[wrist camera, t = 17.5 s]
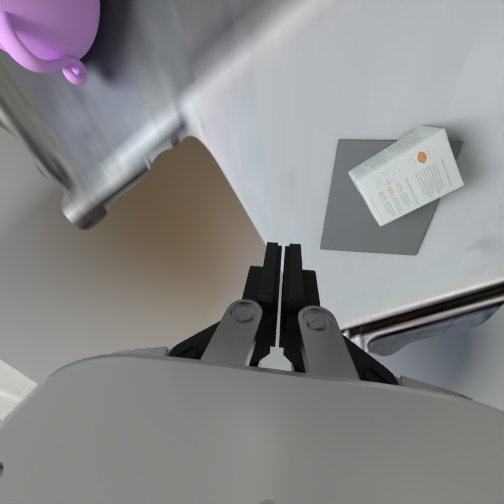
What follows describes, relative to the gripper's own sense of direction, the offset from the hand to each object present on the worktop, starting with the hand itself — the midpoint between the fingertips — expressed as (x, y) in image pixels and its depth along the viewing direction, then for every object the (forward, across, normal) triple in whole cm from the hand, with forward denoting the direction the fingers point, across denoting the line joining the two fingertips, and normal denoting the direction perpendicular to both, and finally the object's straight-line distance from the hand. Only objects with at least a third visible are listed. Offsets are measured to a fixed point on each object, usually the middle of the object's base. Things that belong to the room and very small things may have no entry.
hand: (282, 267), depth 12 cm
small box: (+25, -11, +5) cm, 28 cm away
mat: (+29, -15, +6) cm, 33 cm away
